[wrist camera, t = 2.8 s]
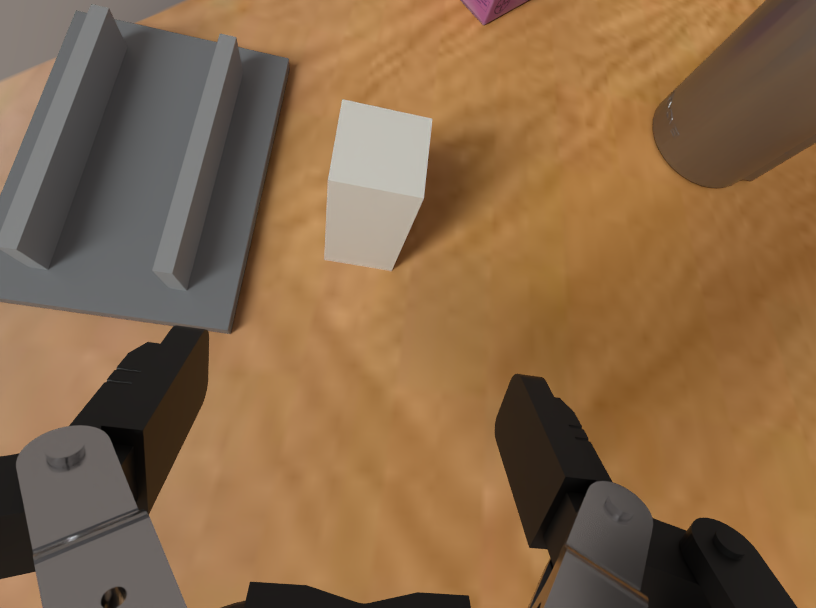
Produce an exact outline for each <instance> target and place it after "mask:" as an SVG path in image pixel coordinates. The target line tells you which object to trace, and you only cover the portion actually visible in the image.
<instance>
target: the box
mask: <svg viewBox="0 0 816 608" xmlns="http://www.w3.org/2000/svg"><path fill="white" fill-rule="evenodd" d="M461 1H462V2H463V4H464V5H465V6H466V7H467V8H468V9H469V10H470V11H471V13H472V14H473V15H474V16H475V17H476V18H477V19H478V20H479V21H480V22H481V23H482V24H483V25H485V24H487V23H489V22H490V21H492V20H494V19H496V18H498V17H500V16H501V15H503V14H505V13H507V12H508V11H510V10H512V9H514V8H515V7H517V6H519V5H521V4H523V3H525V2H527V1H528V0H461Z"/></svg>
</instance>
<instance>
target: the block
mask: <svg viewBox="0 0 816 608" xmlns="http://www.w3.org/2000/svg"><path fill="white" fill-rule="evenodd" d="M431 127H432V119H431V118H426V117H422V116H417V115H412V114H408V113H403V112H399V111H394V110H389V109H385V108H380V107H376V106H371V105H366V104H362V103H357V102H353V101H348V100H343V99H342V104H341V110H340V115H339V121H338V127H337V132H336V138H335V144H334V149H333V155H332V160H331V166H330V172H329V177H328V191H327V212H326V233H325V254H324V260H329V261H335V262H341V263H347V264H353V265H359V266H365V267H371V268H377V269H383V270H389V271H392V269H393V267H394V264H395V262H396V260H397V258H398V255H399V253H400V251H401V249H402V246H403V244H404V242H405V240H406V237H407V235H408V233H409V231H410V228H411V226H412V224H413V222H414V219H415V217H416V215H417V213H418V210H419V208H420V206H421V204H422V201H423V199H424V192H425V183H426V173H427V164H428V155H429V145H430V136H431Z"/></svg>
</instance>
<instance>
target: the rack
mask: <svg viewBox="0 0 816 608" xmlns="http://www.w3.org/2000/svg"><path fill="white" fill-rule="evenodd" d="M289 70H290V67H289V59H288V58H284V57H280V56H275V55H271V54H266V53H262V52H257V51H253V50H249V49H244V48H240V47H238V43H237V38H236V37H233V36H228V35H224V34H220V35H219V39H218V42H213V41H209V40H204V39H200V38H196V37H191V36H187V35H182V34H178V33H173V32H169V31H165V30H160V29H156V28H151V27H147V26H142V25H138V24H134V23H129V22H124V21H120V20H115V19H114V18H113V16H112V14H111V12H110V9H109V8H106V7H101V6H97V5H93V4H91V6H90V9H89V11H88V13H84V12H80V11H76V12H75V14H74V17H73V19H72V22H71V25H70V27H69V29H68V32H67V34H66V36H65V39H64V41H63V44H62V46H61V49H60V51H59V54H58V56H57V58H56V61H55V63H54V66H53V68H52V71H51V73H50V75H49V78H48V80H47V83H46V85H45V88H44V90H43V93H42V95H41V97H40V100H39V102H38V105H37V107H36V110H35V112H34V115H33V117H32V119H31V122H30V124H29V127H28V129H27V132H26V134H25V136H24V139H23V141H22V144H21V146H20V149H19V151H18V154H17V156H16V158H15V161H14V163H13V166H12V168H11V171H10V173H9V176H8V178H7V180H6V183H5V185H4V188H3V190H2V193H1V195H0V302H4V303H12V304H19V305H26V306H33V307H40V308H47V309H55V310H62V311H69V312H76V313H83V314H91V315H98V316H105V317H112V318H119V319H126V320H134V321H141V322H148V323H155V324H162V325H169V326H175V325H178V326H185V327H192V328H199V329H206V330H208V331H213V332H220V333H227V334H231V330H232V325H233V321H234V316H235V312H236V307H237V303H238V298H239V294H240V289H241V285H242V280H243V276H244V271H245V267H246V262H247V258H248V253H249V249H250V244H251V240H252V235H253V231H254V226H255V222H256V218H257V213H258V209H259V204H260V200H261V195H262V191H263V186H264V182H265V177H266V173H267V168H268V164H269V159H270V155H271V150H272V146H273V141H274V137H275V132H276V128H277V123H278V119H279V114H280V110H281V105H282V101H283V97H284V92H285V88H286V83H287V79H288V74H289Z"/></svg>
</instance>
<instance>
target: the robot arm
mask: <svg viewBox="0 0 816 608" xmlns="http://www.w3.org/2000/svg"><path fill="white" fill-rule="evenodd" d="M653 132H654V138H655V141H656V143H657V146H658V148H659V150H660V152H661V154H662V155H663V157H664V158H665V160H666V161H667V162H668V163H669V164H670V166H671V167H672V168H673V169H674V170H676V171H677V172H678V173H679V174H680V175H682V176H683V177H685V178H686V179H688V180H690V181H691V182H694V183H696V184H699V185H701V186H705V187H710V188H723V187H727V186H731V185H733V184H734V183H736V182H738V181H740V180H748V181H753V180H754V179H756V178H758V177H759V176H761V175H763V174H764V173H766V172H768V171H769V170H771V169H773V168H774V167H776V166H778V165H779V164H781V163H783V162H784V161H786V160H788V159H789V158H791V157H793V156H794V155H796V154H798V153H799V152H801V151H803V150H804V149H806V148H808V147H809V146H811V145H813V144H814V143H816V0H766V1H765V2H764V3H763V4H762V5H761V6H759V7H758V8H757V9H756V10H755V11H754V12H753V13H752V14H751V15H750V16H749V17H748V18H747V19H746V20H745V21H744V22H743V23H742V24H741V25H740V26H739V27H738V28H737V29H736V30H735V31H734V32H733V33H732V34H731V35H730V36H729V37H728V38H727V39H726V40H725V41H724V42H723V43H722V44H721V45H720V46H719V47H718V48H717V49H716V50H715V51H714V52H713V53H712V54H711V55H710V56H708V57H707V58H706V59H705V60H704V61H703V62H702V63H701V64H700V65H699V66H698V67H697V68H696V69H695V70H694V71H693V72H692V73H691V74H690V75H689V76H688V77H687V78H686V79H685V80H684V81H683V82H682V83H681V84H680V85H679V86H678V87H677V88H676V89H675V90H674V91H673V92H672V93H671V94H670V95H669V96H668V97H667V98H666V99H665V100H664V101H663V102H662V103H661V104H660V105H659V107H658V108H657V110H656V112H655V115H654V118H653ZM208 363H209V333H208V330H206V329H199V328H192V327H185V326H178V325H175V326H173V328H172V329H171V330H170V332H169V333H168V334H167V336H166V337H165V338H164V340H163V341H162V342H161V344H159V343H151V342H147V343H145V344H143V345H142V346H140V347H138V348H136V349H135V350H133V351H131V352H129V353H128V354H127V355H126V357H125V358H124V359H123V360H122V362H121V363H120V364H119V365H118V367H117V369H116V370H114V371H113V373H112V374H111V375H110V376H109V378H108V379H107V382H105V383H104V384H103V385H102V386H101V387H100V389H99V390H98V391H97V392H96V394H95V395H94V396H93V397H92V398H91V400H90V401H89V402H88V403H87V405H86V406H85V407H84V408H83V410H82V411H81V412H80V413H79V414H78V416H77V417H76V418H75V419H74V421H73V422H72V423H71V424H70V425H69V426H67V427H62V428H58V429H55V430H52V431H49V432H47V433H45V434H42V435H41V436H39V437H37V438H35V439H34V440H33V441H31V442H30V443H29V444H28V445H26V446H25V447H24V448H23V450H22V451H21V452H20V453H19V454H14V455H8V456H1V457H0V579H3V578H8V577H12V576H17V575H22V574H26V573H31V572H36V576H37V581H38V586H39V591H40V596H41V601H42V606H43V608H187V606H186V604H185V601H184V599H183V597H182V594H181V592H180V589H179V587H178V585H177V582H176V580H175V577H174V575H173V572H172V570H171V568H170V565H169V563H168V560H167V558H166V555H165V553H164V551H163V548H162V546H161V543H160V541H159V539H158V536H157V534H156V531H155V529H154V526H153V524H152V522H151V519H150V517H149V513H150V511H151V509H152V507H153V505H154V503H155V501H156V499H157V496H158V494H159V492H160V490H161V488H162V486H163V484H164V482H165V480H166V478H167V476H168V474H169V472H170V470H171V468H172V466H173V464H174V462H175V460H176V457H177V455H178V453H179V451H180V449H181V447H182V445H183V443H184V441H185V439H186V437H187V435H188V433H189V431H190V429H191V427H192V425H193V423H194V421H195V418H196V416H197V414H198V412H199V410H200V408H201V406H202V404H203V401H204V399H205V395H206V391H207V385H208ZM495 438H496V442H497V445H498V448H499V452H500V455H501V458H502V461H503V465H504V468H505V471H506V474H507V477H508V481H509V484H510V487H511V490H512V494H513V497H514V500H515V503H516V506H517V510H518V513H519V516H520V519H521V522H522V526H523V529H524V532H525V535H526V539H527V542H528V545H529V548H539V549H548V552H549V555H550V559H549V561H548V563H547V565H546V567H545V569H544V571H543V574H542V576H541V578H540V581H539V583H538V585H537V588H536V590H535V592H534V595H533V597H532V599H531V601H530V604H529V606H528V608H797V606H796V605H795V603H794V602H793V601H792V599H791V598H790V596H789V595H788V594H787V592H786V591H785V589H784V588H783V587H782V585H781V584H780V582H779V581H778V580H777V578H776V577H775V575H774V574H773V572H772V571H771V570H770V568H769V567H768V565H767V564H766V563H765V561H764V560H763V558H762V557H761V556H760V554H759V553H758V551H757V550H756V549H755V548H754V546H753V545H752V544H751V543H750V542H749V541H748V540H747V539H746V538H745V537H744V536H743V535H741V534H740V533H739V532H737V531H736V530H734V529H733V528H731V527H730V526H728V525H726V524H724V523H722V522H720V521H717V520H714V519H710V518H699V519H696V520H695V521H694V522H693V523H692V524H691V526H690V527H689V529H688V530H687V531H686V530H683V529H680V528H678V527H675V526H672V525H670V524H667V523H664V522H661V521H659V520H656V519H654V518H652V516H651V513H650V511H649V510H648V508H647V507H646V505H645V504H644V503H643V502H642V501H641V499H639V498H638V497H637V496H636V495H635V494H634V493H632V492H631V491H629V490H628V489H626V488H624V487H622V486H621V485H618V484H616V483H613V482H612V480H611V479H610V477H609V475H608V473H607V471H606V469H605V468H604V466H603V464H602V462H601V460H600V459H599V457H598V455H597V453H596V451H595V449H594V448H593V446H592V444H591V442H589V441H588V437H587V435H586V433H585V431H584V429H582V426H581V424H580V422H579V420H578V419H577V417H576V415H575V413H574V412H573V411H572V410H571V409H570V408H569V407H568V406H567V405H566V404H565V403H564V402H563V401H562V400H561V399H560V398H555V397H554V396H553V394H552V392H551V390H550V388H549V386H548V384H547V382H546V381H545V379H544V378H542V377H536V376H529V375H522V374H515V375H514V376H513V377H512V379H511V381H510V383H509V386H508V389H507V391H506V394H505V396H504V399H503V402H502V404H501V407H500V409H499V412H498V415H497V417H496V422H495ZM221 608H471V606H470V600H469V596H466V595H450V594H434V593H419V592H418V593H413V594H408V595H404V596H399V597H395V598H390V599H386V600H381V601H377V602H372V603H366V604H363V603H357V602H354V601H351V600H348V599H345V598H342V597H340V596H337V595H334V594H331V593H328V592H325V591H322V590H319V589H316V588H313V587H310V586H307V585H293V584H277V583H261V582H250V585H249V589H248V593H247V597H246V601H242V602H237V603H233V604H230V605H227V606H224V607H221Z"/></svg>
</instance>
